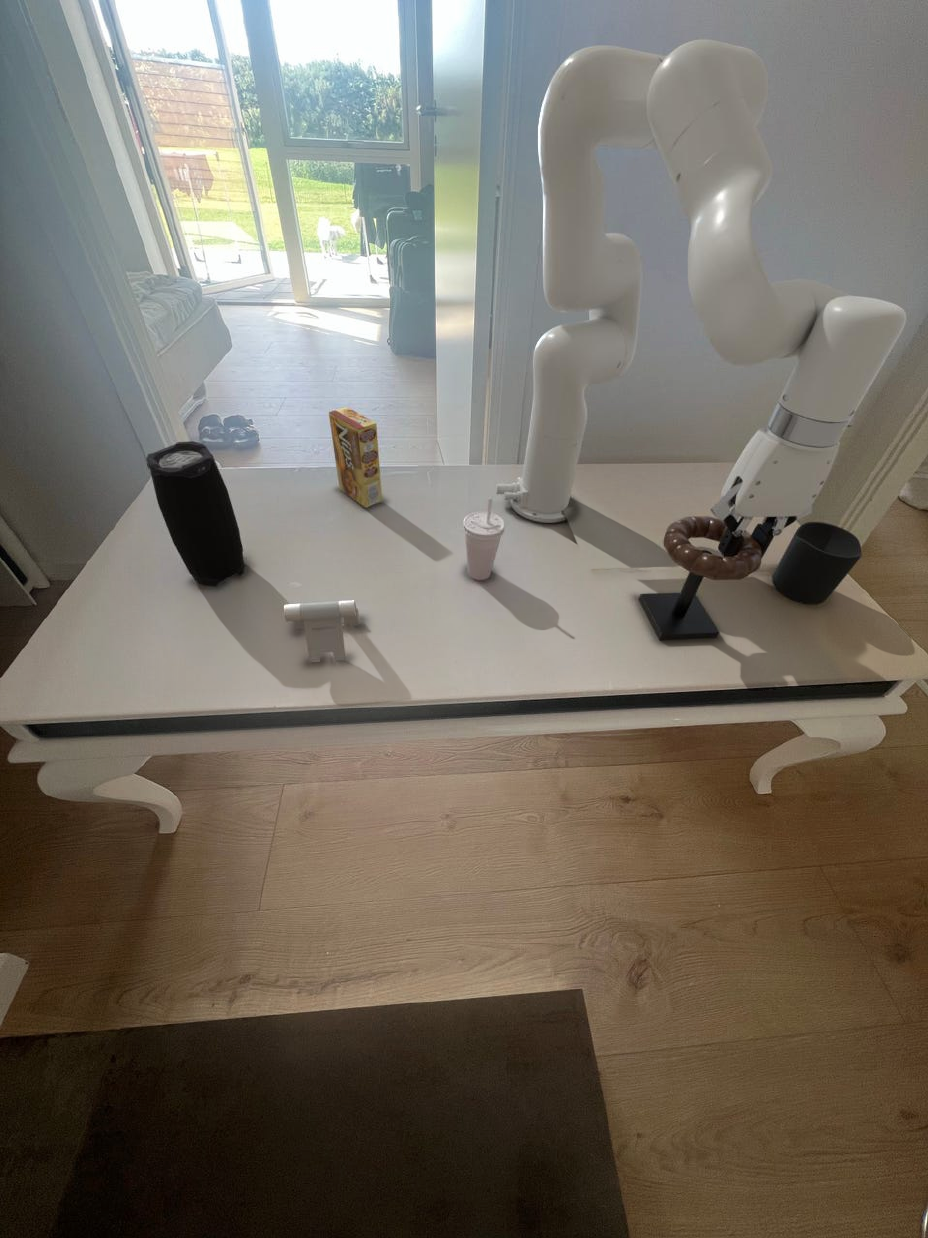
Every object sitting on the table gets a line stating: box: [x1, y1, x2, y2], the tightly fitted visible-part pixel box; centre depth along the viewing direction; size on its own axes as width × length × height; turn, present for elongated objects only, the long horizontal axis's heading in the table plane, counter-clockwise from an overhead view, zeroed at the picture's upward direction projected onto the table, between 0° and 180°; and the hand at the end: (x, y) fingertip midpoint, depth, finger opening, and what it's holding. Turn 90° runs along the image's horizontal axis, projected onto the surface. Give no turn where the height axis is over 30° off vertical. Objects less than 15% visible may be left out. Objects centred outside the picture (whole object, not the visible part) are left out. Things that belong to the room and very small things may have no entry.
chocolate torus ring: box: [662, 515, 762, 581], centre depth 70 cm, size 12×12×3 cm
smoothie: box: [462, 496, 506, 581], centre depth 80 cm, size 6×6×14 cm
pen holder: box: [771, 521, 863, 605], centre depth 83 cm, size 9×9×10 cm
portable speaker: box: [146, 440, 246, 587], centre depth 75 cm, size 9×9×20 cm
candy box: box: [328, 406, 383, 509], centre depth 94 cm, size 9×4×15 cm, turn 44°
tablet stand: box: [283, 599, 360, 663], centre depth 70 cm, size 9×8×8 cm
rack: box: [638, 549, 720, 641], centre depth 76 cm, size 9×9×12 cm
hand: (739, 553), depth 72 cm, fingers closed on chocolate torus ring, 3 cm apart
